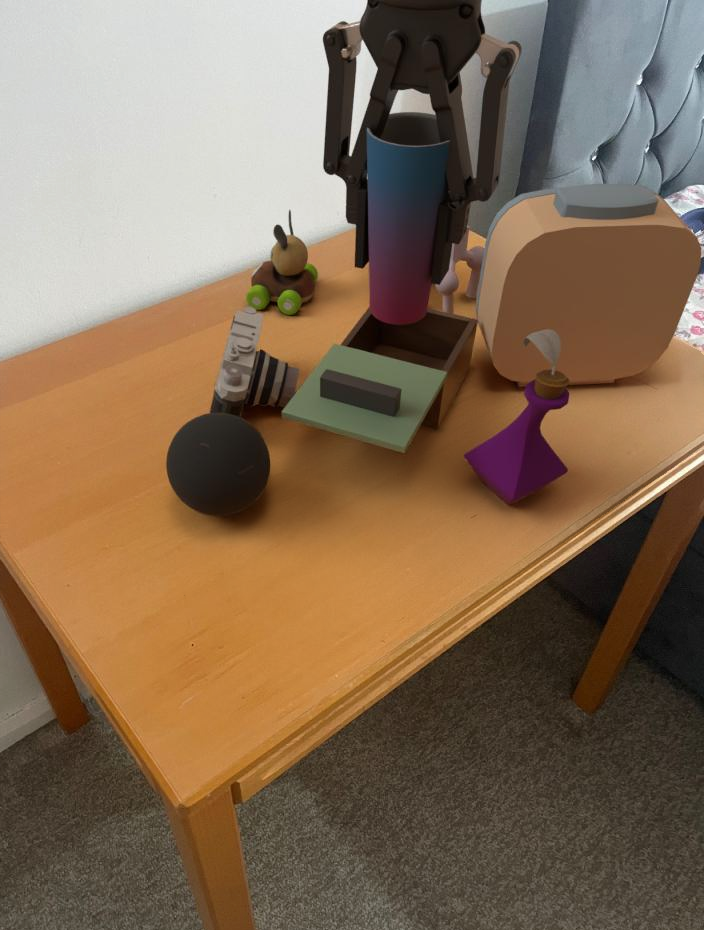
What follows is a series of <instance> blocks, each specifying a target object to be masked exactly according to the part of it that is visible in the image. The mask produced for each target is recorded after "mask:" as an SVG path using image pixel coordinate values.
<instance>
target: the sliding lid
mask: <svg viewBox="0 0 704 930" xmlns="http://www.w3.org/2000/svg"><path fill="white" fill-rule="evenodd" d="M446 378H447V372H445V371H441V370H437V369H433V368H429V367H425V366H421V365H417V364H413V363H409V362H405V361H401V360H397V359H393V358H389V357H385V356H382V355H378V354H374V353H370V352H366V351H362V350H358V349H354V348H350V347H346V346H342V345H341V344H338V343H333V344H332V346H331V347H330V348H329V349H328V351H327V352H326V353H325V355H324V356H323V357H322V358H321V360H320V361H319V362H318V363H317V365H316V366H315V367H314V369H313V370H312V372H311V373H310V374H309V375H308V376H307V378H306V379H305V381H304V382H303V383H302V384H301V386H300V387H299V388H298V390H297V391H295V393H294V396H293V398H292V399H291V400H290V402H289V403H288V404H287V405H286V407H283V409H282V410H281V418H282V419H285V420H288V421H293V422H296V423H299V424H303V425H305V426H306V425H307V426H310V427H313V428H317V429H319V430H323V431H327V432H331V433H333V434H337V435H341V436H345V437H348V438H352V439H355V440H357V441H361V442H365V443H368V444H372V445H375V446H378V447H382V448H385V449H389V450H392V451H396V452H399V453H403V454H405V453H406V452H407V450H408V448H409V446H410V445H411V443H412V441H413V440H414V438H415V436H416V435H417V432H418V431H419V429H420V426H421V425H422V424H421V423H422V421H423V420H424V418H425V416H426V414H427V412H428V411H429V409H430V407H431V405H432V403H433V402H434V400H435V398H436V396H437V395H438V393H439V391H440V389H441V387H442V386H443V384H444V382H445V380H446Z"/></svg>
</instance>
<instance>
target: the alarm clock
mask: <svg viewBox="0 0 704 930" xmlns="http://www.w3.org/2000/svg"><path fill="white" fill-rule="evenodd" d="M486 235H487V236H486V239H485V244H484V248H485V249H484V255H483V261H482V267H481V273H480V279H479V285H478V289H477V293H476V297H475V298H476V299H475V315H476V319H477V320H478V322H477V326H478V327H479V329H480V332H481V335H482V338H483V340H484V343H485V346H486V348H487V351H488V354H489V356H490V359H491V362H492V364H493V367H494V368H495V370H497V373H499V375H501V376H502V377H504V378H505V379H507V380H509V381H511V382H516V383H517V386H518V388H522V387H524V388H525V387H526V385H527V384H528V383H529V382H531V381H533V380H534V379H535V377H536V373H539V372H541V371H543V370H552V369H553V365H552V364H551V363H550V362H549V361H548V360H547V359H546V358H545V357H544V356H543V354H542V353H541V352H540V350H539V349H538V348H537V347H536V346H535V344H534V343H533V342H532V341H530V342H529V344H528V345H527V346H525V345H524V343H523V340H524V339H525V338H526V337H527V336H528V335H530V334H531V333H533V332H538V331H542V330H546V329H549V330H554V331H555V332H556V333H557V334H558V336H559V338H560V341H561V353H560V355H559V358H558V360H557V363H556V367H555V370H556V371H559V372H562V373H564V375H565V376H566V377H567V378H568V379H569V384H568V386H572V385H574V386H575V385H594V384H595V385H596V384H597V385H598V384H614V383H615V380H617V379H622V378H628V377H632V376H635V375H637V374H639V373H641V372H643V371H645V370H648V369H649V368H650V367H651V366H653V364H655V363H656V362H657V361H658V360H659V359H660V358H661V357H662V355H663V354H664V353H665V351H667V349H668V348H669V346H670V344H671V342H672V340H673V338H674V336H675V334H676V331H677V328H678V326H679V323H680V321H681V318H682V316H683V313H684V311H685V308H686V306H687V303H688V301H689V298H690V295H691V293H692V290H693V288H694V286H695V282H696V280H697V277H698V274H699V270H700V267H701V263H702V246H701V244H700V241H699V239H698V237H697V235H695V233H694V232H693V231H692V230H691V228H690V227H689V226H688V225H687V224H686V223H685V222H684V220H683V218H681V217H680V216H679V215H678V213H676V211H675V210H674V209H673V208H672V206H670V204H669V203H668V202H667V201H666V200H665V199H664V197H662V196H661V195H659V194H658V193H657V192H656V191H655V190H654V189H650V188H649V186H647V185H640V184H632V183H631V184H629V183H591V184H589V183H588V184H580V185H570V186H567V187H566V186H565V187H556V188H554V187H553V188H545V189H540V190H535V191H530V192H525V193H520V194H518V195H517V196H515V197H514V198H513V199H511V200H509V201H508V202H506V203H505V204H504V206H502V207H501V209H499V211H498V212H497V213H496V215H495V216H494V218H493V220H492V222H491V223H490V226H489V228H488V232H487V234H486Z"/></svg>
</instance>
